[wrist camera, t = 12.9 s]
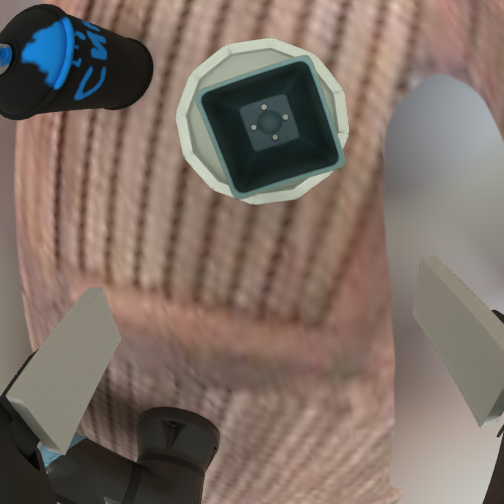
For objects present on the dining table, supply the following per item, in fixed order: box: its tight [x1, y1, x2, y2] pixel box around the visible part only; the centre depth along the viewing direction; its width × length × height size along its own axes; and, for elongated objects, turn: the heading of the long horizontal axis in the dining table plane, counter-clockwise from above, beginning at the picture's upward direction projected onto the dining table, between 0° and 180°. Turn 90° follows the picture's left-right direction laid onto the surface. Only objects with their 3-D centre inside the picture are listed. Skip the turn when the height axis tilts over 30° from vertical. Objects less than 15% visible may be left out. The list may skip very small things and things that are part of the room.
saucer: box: [175, 38, 349, 205], centre depth 29 cm, size 16×16×2 cm
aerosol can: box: [0, 4, 153, 120], centre depth 19 cm, size 8×8×20 cm
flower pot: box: [194, 55, 345, 200], centre depth 26 cm, size 9×9×9 cm
